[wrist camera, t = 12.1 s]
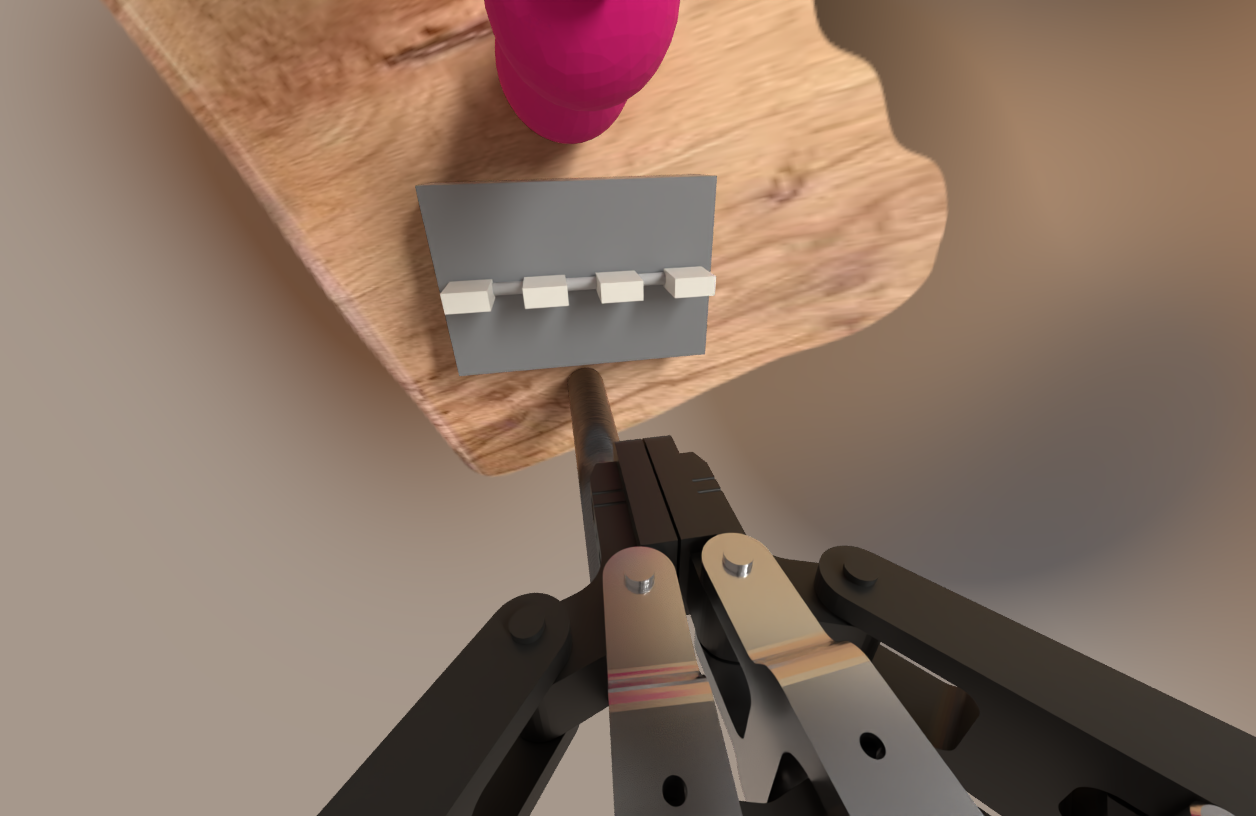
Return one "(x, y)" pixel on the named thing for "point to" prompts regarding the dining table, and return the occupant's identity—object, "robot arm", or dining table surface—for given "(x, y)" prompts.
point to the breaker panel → (571, 265)
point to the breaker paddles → (576, 288)
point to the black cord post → (590, 443)
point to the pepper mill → (577, 59)
